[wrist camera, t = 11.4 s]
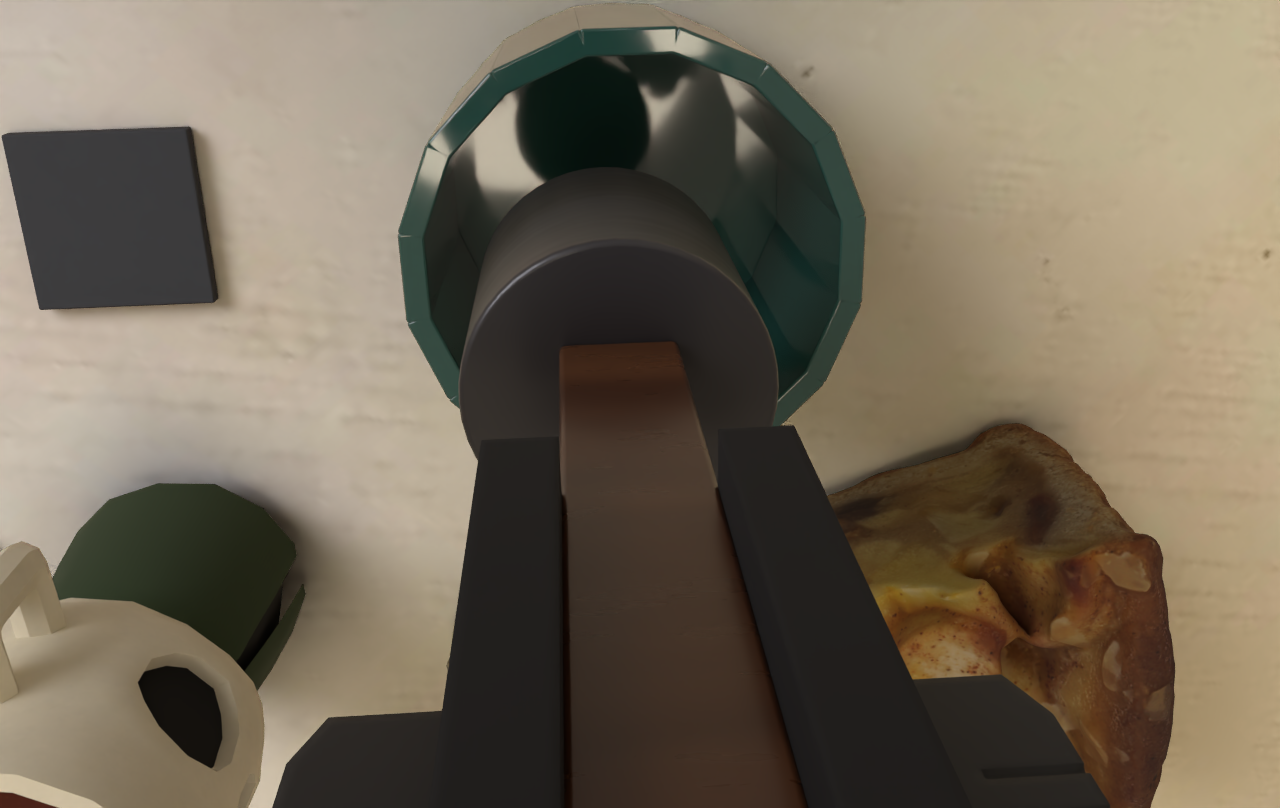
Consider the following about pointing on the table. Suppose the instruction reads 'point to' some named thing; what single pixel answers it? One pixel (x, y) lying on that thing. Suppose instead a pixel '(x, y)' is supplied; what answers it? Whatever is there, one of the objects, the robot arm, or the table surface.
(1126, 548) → the pie slice
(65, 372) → the table surface
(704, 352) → the brown post with base
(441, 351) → the cup
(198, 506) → the character mug
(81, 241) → the mat
